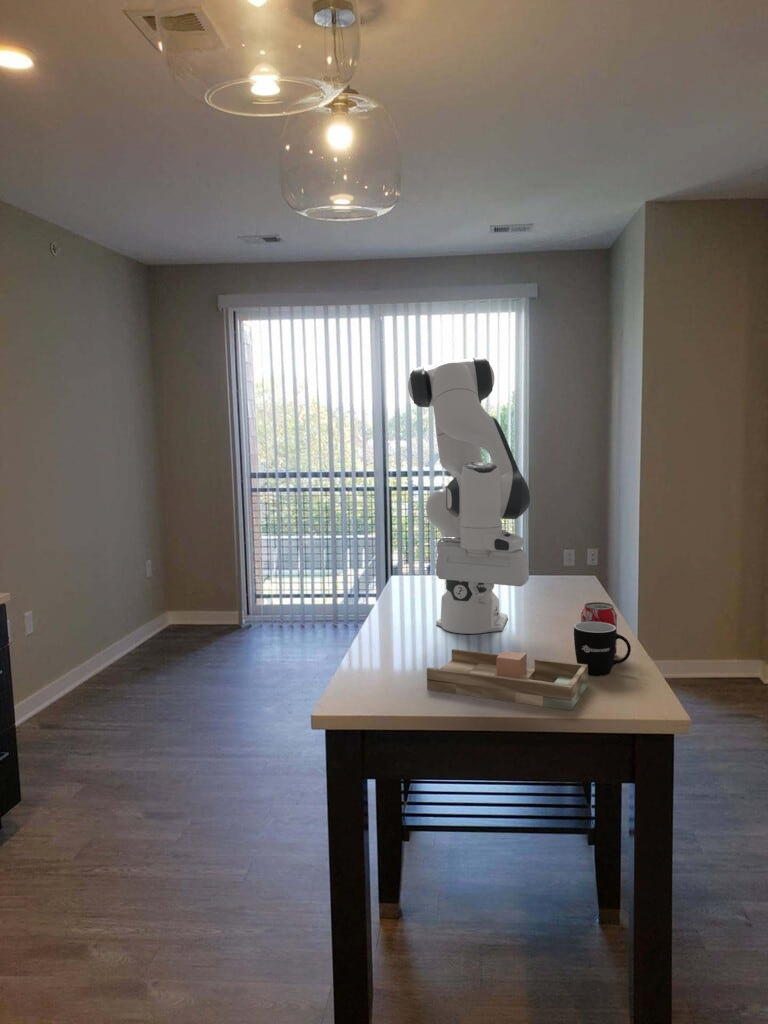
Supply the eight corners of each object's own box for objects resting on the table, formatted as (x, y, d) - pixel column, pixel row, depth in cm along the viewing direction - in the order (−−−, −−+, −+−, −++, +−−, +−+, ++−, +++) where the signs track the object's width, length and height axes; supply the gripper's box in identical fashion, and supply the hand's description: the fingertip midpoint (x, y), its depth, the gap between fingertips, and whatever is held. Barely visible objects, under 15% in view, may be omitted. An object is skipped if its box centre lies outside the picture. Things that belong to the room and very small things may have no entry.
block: (504, 668, 162) (503, 650, 162) (526, 671, 160) (526, 653, 160) (496, 675, 158) (496, 657, 157) (519, 678, 156) (519, 660, 155)
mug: (574, 677, 162) (574, 631, 161) (573, 664, 171) (573, 620, 170) (632, 680, 159) (632, 633, 158) (628, 666, 168) (629, 622, 167)
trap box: (453, 668, 170) (453, 649, 170) (587, 685, 157) (587, 664, 156) (427, 689, 157) (426, 668, 156) (571, 710, 143) (571, 687, 143)
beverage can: (616, 661, 172) (617, 610, 171) (580, 659, 174) (581, 608, 173) (616, 651, 180) (616, 602, 178) (581, 649, 182) (581, 600, 181)
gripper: (430, 538, 162) (431, 601, 164) (521, 544, 152) (521, 610, 153) (443, 534, 167) (443, 595, 169) (531, 539, 157) (531, 604, 159)
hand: (481, 602), depth 161 cm, fingers closed
